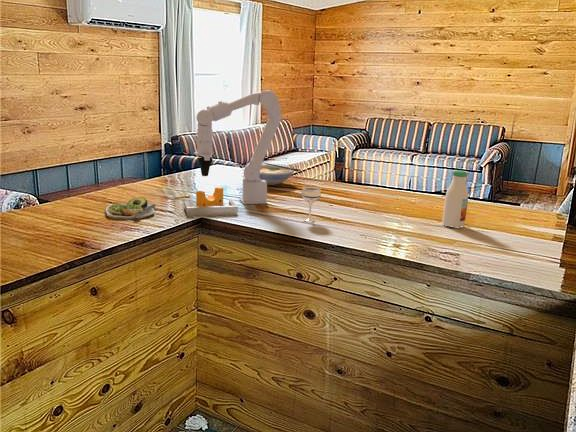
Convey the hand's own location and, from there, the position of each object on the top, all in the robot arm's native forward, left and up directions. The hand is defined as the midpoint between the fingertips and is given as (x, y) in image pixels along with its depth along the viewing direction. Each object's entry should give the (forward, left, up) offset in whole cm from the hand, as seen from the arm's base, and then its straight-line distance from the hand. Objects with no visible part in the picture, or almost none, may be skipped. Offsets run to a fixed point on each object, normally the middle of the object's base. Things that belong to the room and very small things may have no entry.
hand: (204, 175), depth 207 cm
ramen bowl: (-33, -27, -10) cm, 44 cm away
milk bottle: (-83, +47, -10) cm, 96 cm away
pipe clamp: (0, +8, -10) cm, 13 cm away
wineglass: (-33, +34, -10) cm, 48 cm away
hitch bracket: (0, +17, -10) cm, 19 cm away
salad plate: (+28, +16, -10) cm, 34 cm away
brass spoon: (+9, -5, -10) cm, 15 cm away
